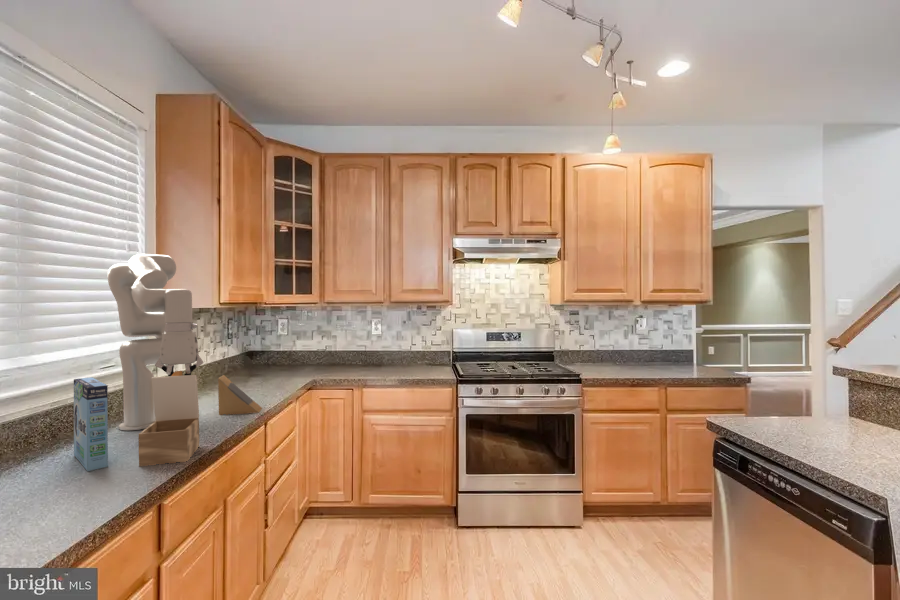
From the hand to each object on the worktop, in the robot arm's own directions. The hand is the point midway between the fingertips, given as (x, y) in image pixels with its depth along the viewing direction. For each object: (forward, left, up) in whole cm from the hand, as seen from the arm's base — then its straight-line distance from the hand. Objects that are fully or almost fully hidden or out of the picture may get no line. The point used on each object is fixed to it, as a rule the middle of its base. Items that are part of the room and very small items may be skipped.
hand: (179, 385), depth 148 cm
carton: (+10, 0, -19) cm, 22 cm away
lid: (+5, 0, -3) cm, 6 cm away
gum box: (+8, -21, -19) cm, 30 cm away
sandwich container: (-42, +11, -19) cm, 47 cm away
